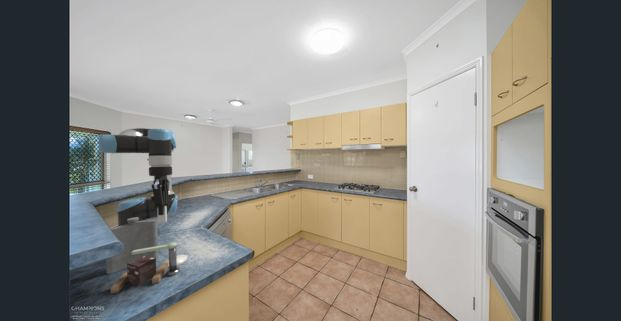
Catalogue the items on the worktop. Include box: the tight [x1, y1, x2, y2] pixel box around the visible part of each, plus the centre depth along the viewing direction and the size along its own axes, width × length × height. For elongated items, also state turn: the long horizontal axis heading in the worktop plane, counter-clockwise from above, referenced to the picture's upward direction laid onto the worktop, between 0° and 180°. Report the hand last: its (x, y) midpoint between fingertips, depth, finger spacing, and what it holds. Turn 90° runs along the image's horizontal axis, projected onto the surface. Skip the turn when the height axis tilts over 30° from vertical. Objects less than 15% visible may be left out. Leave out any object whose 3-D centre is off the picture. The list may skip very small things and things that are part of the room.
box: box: [126, 256, 157, 287], centre depth 68 cm, size 6×6×7 cm
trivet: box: [161, 254, 188, 269], centre depth 79 cm, size 9×9×1 cm
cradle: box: [110, 263, 169, 295], centre depth 68 cm, size 10×13×2 cm
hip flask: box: [105, 217, 159, 275], centre depth 78 cm, size 16×4×20 cm, turn 138°
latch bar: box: [132, 242, 178, 255], centre depth 69 cm, size 3×14×1 cm, turn 114°
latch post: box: [165, 247, 181, 277], centre depth 71 cm, size 4×4×10 cm
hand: (162, 222), depth 75 cm, fingers closed
